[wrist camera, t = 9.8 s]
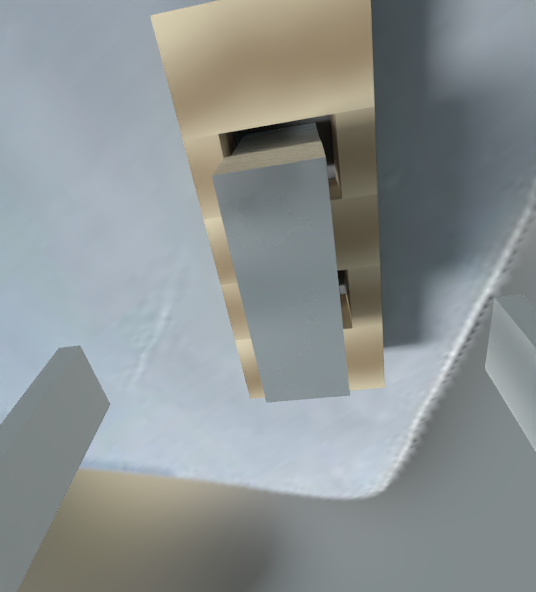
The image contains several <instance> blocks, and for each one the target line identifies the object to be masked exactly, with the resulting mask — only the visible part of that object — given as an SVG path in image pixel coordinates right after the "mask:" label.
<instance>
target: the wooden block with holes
mask: <svg viewBox="0 0 536 592" xmlns="http://www.w3.org/2000/svg"><path fill="white" fill-rule="evenodd" d="M151 20H152V24H153V28H154V32H155V35H156V39H157V43H158V47H159V51H160V55H161V58H162V62H163V66H164V70H165V74H166V78H167V81H168V85H169V89H170V93H171V97H172V101H173V104H174V108H175V112H176V116H177V120H178V123H179V127H180V131H181V135H182V139H183V143H184V146H185V150H186V154H187V158H188V162H189V166H190V169H191V173H192V177H193V181H194V185H195V189H196V192H197V196H198V200H199V204H200V208H201V212H202V215H203V219H204V223H205V227H206V231H207V234H208V238H209V242H210V246H211V250H212V254H213V257H214V261H215V265H216V269H217V273H218V277H219V280H220V284H221V288H222V292H223V296H224V300H225V303H226V307H227V311H228V315H229V319H230V323H231V326H232V330H233V334H234V338H235V342H236V345H237V349H238V353H239V357H240V361H241V365H242V368H243V372H244V376H245V380H246V384H247V388H248V391H249V395H250V399H252V398H264V397H265V395H264V390H263V386H262V382H261V378H260V374H259V370H258V366H257V362H256V357H255V353H254V349H253V345H252V341H251V337H250V333H249V329H248V324H247V320H246V316H245V312H244V308H243V304H242V300H241V295H240V291H239V287H238V283H237V279H236V275H235V271H234V267H233V262H232V258H231V254H230V250H229V246H228V242H227V238H226V234H225V229H224V225H223V221H222V217H221V213H220V209H219V205H218V201H217V196H216V192H215V188H214V184H213V180H212V174H213V173H214V172H215V170H216V169H217V167H218V166H219V164H220V163H221V162H222V160H223V159H224V157H229V156H231V155H232V153H233V152H234V150H235V144H234V139H233V134H232V132H233V131H238V130H244V129H250V128H255V127H261V126H267V125H273V124H278V123H284V122H290V121H295V120H301V119H307V118H313V117H318V116H324V115H330V119H331V130H332V142H333V153H334V165H335V176H336V178H333V179H328V184H329V193H330V203H331V213H332V223H333V233H334V243H335V253H336V263H337V271H339V270H344V280H345V292H346V295H340V303H341V313H342V323H343V332H344V342H345V352H346V362H347V372H348V382H349V390H362V389H374V388H385V382H384V354H383V326H382V298H381V271H380V243H379V215H378V187H377V159H376V132H375V104H374V76H373V48H372V20H371V0H218V1H214V2H209V3H205V4H200V5H196V6H191V7H187V8H182V9H178V10H173V11H169V12H164V13H160V14H155V15H151Z"/></svg>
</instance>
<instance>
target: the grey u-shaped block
mask: <svg viewBox="0 0 536 592" xmlns="http://www.w3.org/2000/svg"><path fill="white" fill-rule="evenodd" d="M212 180H213V184H214V188H215V192H216V196H217V201H218V205H219V209H220V213H221V217H222V221H223V225H224V229H225V234H226V238H227V242H228V246H229V250H230V254H231V258H232V262H233V267H234V271H235V275H236V279H237V283H238V287H239V291H240V295H241V300H242V304H243V308H244V312H245V316H246V320H247V324H248V329H249V333H250V337H251V341H252V345H253V349H254V353H255V357H256V362H257V366H258V370H259V374H260V378H261V382H262V386H263V390H264V395H265V399H266V402H276V401H288V400H300V399H312V398H324V397H336V396H348V395H350V392H349V382H348V372H347V362H346V352H345V342H344V332H343V323H342V313H341V303H340V293H339V283H338V273H337V263H336V253H335V243H334V233H333V223H332V213H331V203H330V193H329V184H328V174H327V164H326V156H325V152H324V149H323V145H322V142H321V141H320V138H319V135H318V131H317V127H316V123H315V122H314V123H308V124H302V125H297V126H291V127H286V128H280V129H274V130H269V131H263V132H258V133H252V134H246V135H244V136H243V138H242V139H241V141H240V142H239V144H238V145H237V147H236V149H235V150H234V152H233V153H232V155H231V156H229V157H224V159H223V160H222V162H221V163H220V164H219V166H218V167H217V169H216V170H215V172H214V173H213V174H212Z"/></svg>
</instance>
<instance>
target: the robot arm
mask: <svg viewBox="0 0 536 592" xmlns="http://www.w3.org/2000/svg"><path fill="white" fill-rule="evenodd" d="M485 369H486V371H487V373H488V374H489V376H490V378H491V379H492V381H493V382H494V384H495V386H496V387H497V389H498V391H499V392H500V394H501V396H502V397H503V399H504V400H505V402H506V404H507V405H508V407H509V409H510V410H511V412H512V414H513V415H514V417H515V418H516V420H517V422H518V423H519V425H520V427H521V428H522V430H523V432H524V433H525V435H526V436H527V438H528V440H529V441H530V443H531V445H532V446H533V448H534V450H535V451H536V309H535V308H534V306H533V305H532V304H531V303H530V302H529V301H528V300H527V299H526V298H525V297H524V296H523V295H514V296H505V297H496V298H494V305H493V312H492V320H491V327H490V335H489V342H488V349H487V357H486V364H485ZM109 406H110V403H109V401H108V399H107V397H106V395H105V393H104V391H103V389H102V387H101V385H100V383H99V381H98V379H97V377H96V376H95V374H94V372H93V370H92V368H91V366H90V364H89V362H88V360H87V358H86V356H85V354H84V352H83V350H82V348H81V347H80V346H73V347H64V348H59V349H58V350H57V351H56V353H55V354H54V355H53V357H52V358H51V359H50V360H49V362H48V363H47V364H46V366H45V367H44V368H43V370H42V371H41V372H40V374H39V375H38V376H37V377H36V379H35V380H34V381H33V383H32V384H31V385H30V387H29V388H28V389H27V391H26V392H25V393H24V395H23V396H22V397H21V398H20V400H19V401H18V402H17V404H16V405H15V406H14V408H13V409H12V410H11V412H10V413H9V414H8V416H7V417H6V418H5V419H4V421H3V422H2V423H1V425H0V592H17V590H18V588H19V586H20V584H21V582H22V580H23V578H24V576H25V574H26V572H27V570H28V568H29V566H30V564H31V562H32V560H33V558H34V556H35V554H36V552H37V550H38V548H39V546H40V544H41V542H42V540H43V538H44V536H45V534H46V532H47V530H48V528H49V526H50V524H51V522H52V520H53V518H54V516H55V514H56V512H57V510H58V508H59V506H60V504H61V502H62V500H63V498H64V496H65V494H66V492H67V490H68V488H69V486H70V484H71V482H72V480H73V478H74V476H75V474H76V472H77V470H78V468H79V466H80V464H81V462H82V460H83V458H84V456H85V454H86V452H87V450H88V448H89V446H90V444H91V442H92V440H93V438H94V436H95V434H96V432H97V430H98V428H99V426H100V424H101V422H102V420H103V418H104V416H105V414H106V412H107V410H108V408H109Z"/></svg>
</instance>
